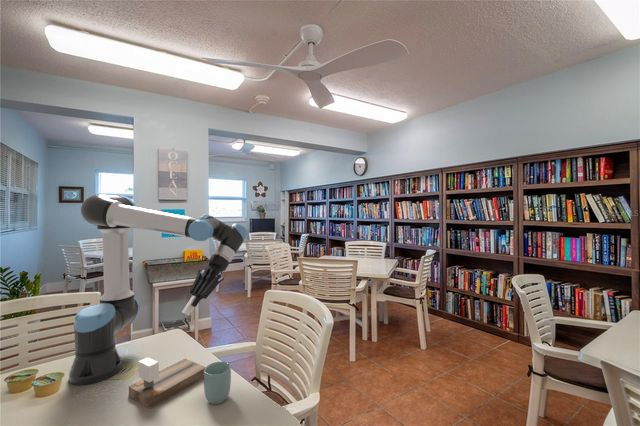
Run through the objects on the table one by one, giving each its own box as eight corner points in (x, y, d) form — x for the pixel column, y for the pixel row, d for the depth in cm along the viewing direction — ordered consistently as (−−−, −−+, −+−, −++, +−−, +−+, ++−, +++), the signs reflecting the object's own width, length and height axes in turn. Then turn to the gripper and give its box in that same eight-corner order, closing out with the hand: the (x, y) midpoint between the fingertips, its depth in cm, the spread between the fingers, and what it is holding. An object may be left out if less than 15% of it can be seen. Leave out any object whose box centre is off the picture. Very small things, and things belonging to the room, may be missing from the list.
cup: (222, 409, 88) (222, 376, 88) (199, 406, 89) (198, 373, 89) (235, 393, 95) (235, 362, 95) (213, 390, 97) (212, 360, 97)
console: (128, 395, 95) (128, 385, 94) (185, 366, 112) (185, 358, 112) (150, 408, 88) (150, 398, 88) (206, 375, 106) (206, 366, 106)
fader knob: (138, 385, 94) (138, 361, 94) (148, 380, 97) (147, 357, 97) (149, 391, 91) (148, 366, 91) (158, 386, 94) (158, 362, 94)
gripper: (238, 265, 118) (203, 322, 105) (216, 261, 125) (181, 314, 112) (227, 255, 113) (189, 313, 100) (205, 251, 120) (167, 305, 107)
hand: (185, 313), depth 106 cm, fingers closed
